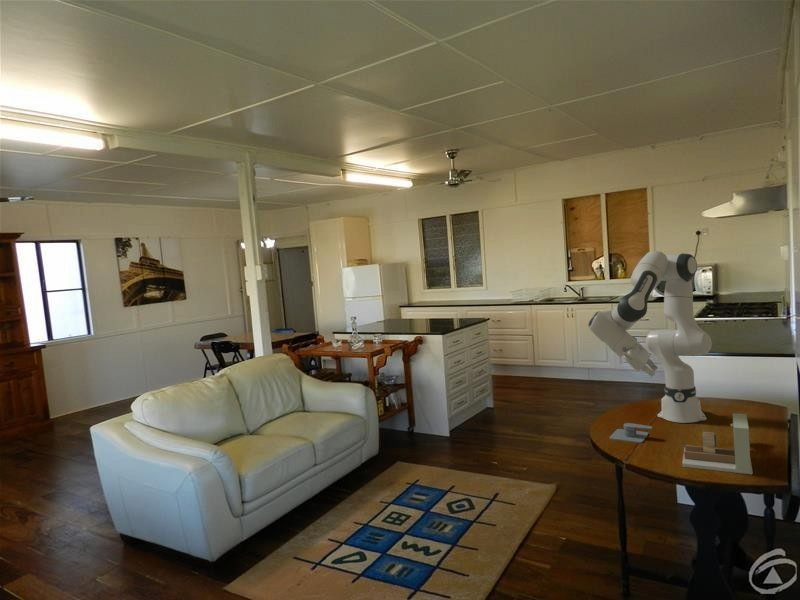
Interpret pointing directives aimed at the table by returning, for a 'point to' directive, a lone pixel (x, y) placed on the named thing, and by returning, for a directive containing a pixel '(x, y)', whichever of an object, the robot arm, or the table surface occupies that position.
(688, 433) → the table surface
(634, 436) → the shower valve
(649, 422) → the table surface
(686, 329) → the robot arm
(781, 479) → the table surface
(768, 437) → the table surface
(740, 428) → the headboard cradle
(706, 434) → the beige wooden block
